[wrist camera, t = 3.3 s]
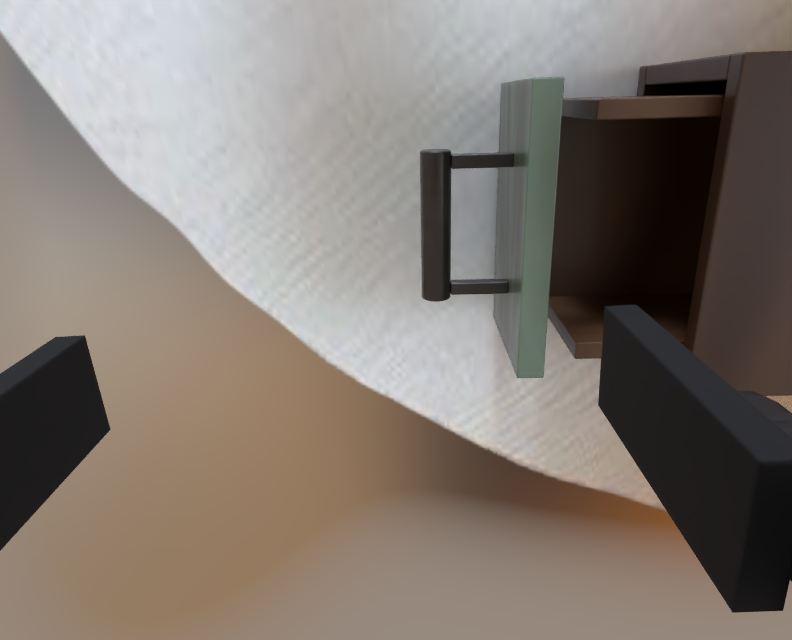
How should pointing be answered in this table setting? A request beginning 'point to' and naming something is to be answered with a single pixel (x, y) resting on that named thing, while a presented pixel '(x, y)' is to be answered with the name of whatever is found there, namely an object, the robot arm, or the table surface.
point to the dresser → (743, 218)
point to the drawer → (581, 213)
